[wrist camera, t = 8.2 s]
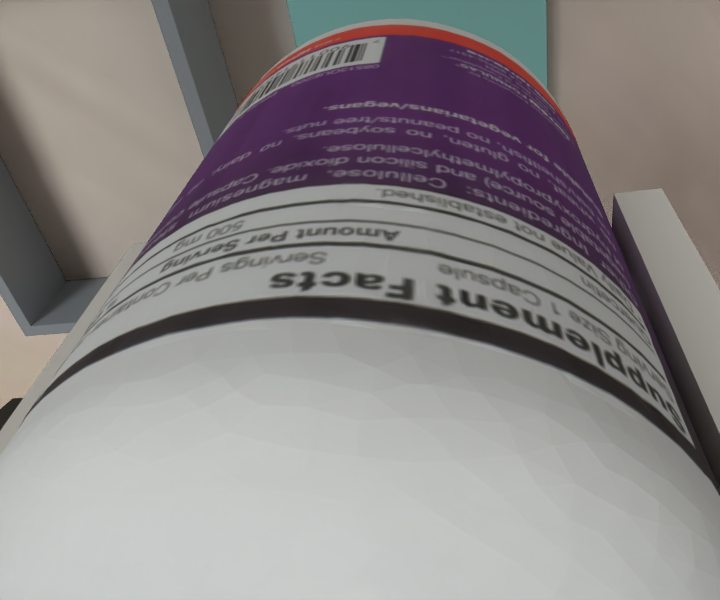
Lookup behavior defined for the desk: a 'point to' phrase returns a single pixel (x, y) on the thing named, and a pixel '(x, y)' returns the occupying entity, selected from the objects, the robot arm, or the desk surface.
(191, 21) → the rectangular frame
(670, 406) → the pill bottle
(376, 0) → the pad
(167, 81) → the desk surface
